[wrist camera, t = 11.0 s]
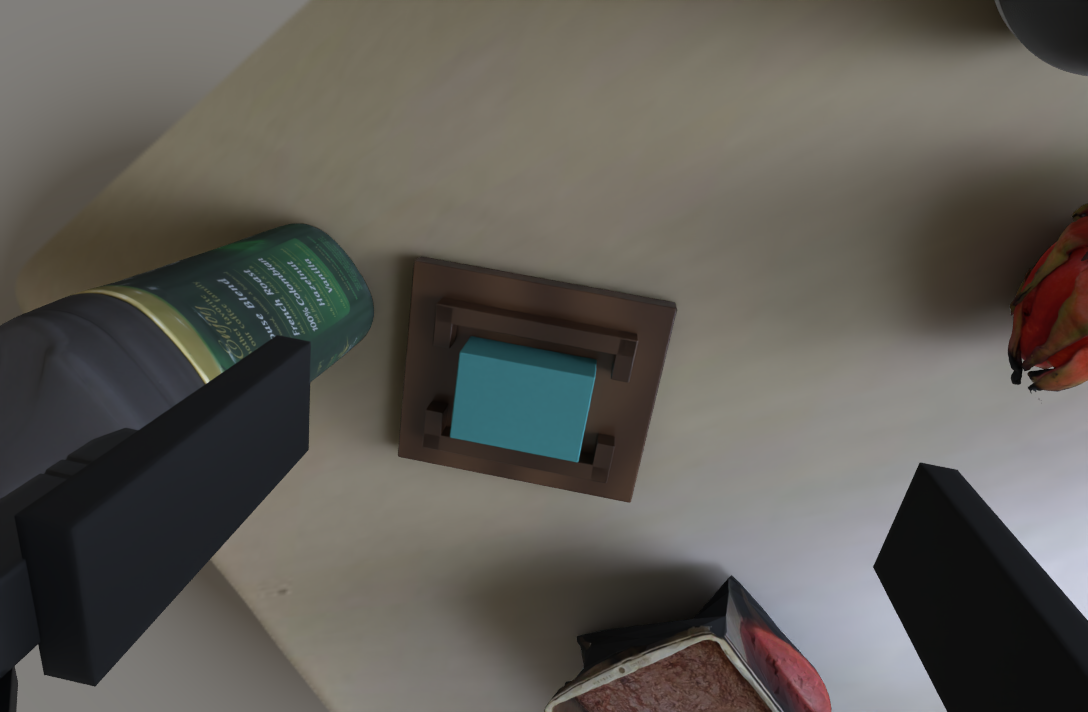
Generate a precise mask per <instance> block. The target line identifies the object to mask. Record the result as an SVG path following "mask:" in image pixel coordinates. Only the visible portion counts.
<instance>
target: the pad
mask: <svg viewBox="0 0 1088 712" xmlns="http://www.w3.org/2000/svg"><path fill="white" fill-rule="evenodd" d="M596 366H597V360H596V359H590V358H585V357H580V356H574V355H569V354H564V353H558V352H553V351H548V350H543V349H537V348H532V347H527V346H521V345H516V344H511V343H505V342H500V341H495V340H489V339H484V338H479V337H473V336H470V338H469V339H468V341H467V342H466V344H465V345H464V347H463V348H462V350H461V351H460V353H459V360H458V369H457V377H456V386H455V395H454V403H453V412H452V421H451V429H450V437H451V438H455V439H460V440H465V441H471V442H476V443H481V444H486V445H491V446H496V447H501V448H506V449H511V450H516V451H521V452H526V453H532V454H537V455H542V456H547V457H552V458H557V459H562V460H567V461H572V462H578V461H579V456H580V451H581V446H582V441H583V436H584V431H585V426H586V421H587V416H588V411H589V406H590V401H591V396H592V392H593V387H594V382H595V375H596Z"/></svg>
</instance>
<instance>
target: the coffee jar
mask: <svg viewBox="0 0 1088 712" xmlns="http://www.w3.org/2000/svg"><path fill="white" fill-rule="evenodd" d="M373 317H374V305H373V300H372V296H371V293H370V291H369V289H368V287H367V285H366V283H365V281H364V279H363V277H362V275H361V274H360V273H359V271H358V270H357V268H356V266H355V265H354V263H353V262H352V260H351V259H350V258H349V257H348V255H347V254H346V253H345V251H344V250H343V249H342V248H341V247H340V246H339V245H338V244H337V243H336V242H335V241H334V240H333V239H332V238H331V237H330V236H329V235H327V234H326V233H324V232H323V231H322V230H320V229H318V228H315V227H313V226H310V225H307V224H288V225H284V226H280V227H277V228H274V229H271V230H268V231H265V232H262V233H259V234H256V235H254V236H251V237H248V238H245V239H242V240H240V241H237V242H234V243H231V244H228V245H225V246H222V247H220V248H217V249H214V250H211V251H208V252H205V253H202V254H199V255H195V256H192V257H189V258H186V259H183V260H180V261H178V262H175V263H172V264H168V265H166V266H163V267H160V268H157V269H154V270H151V271H148V272H145V273H142V274H138V275H135V276H133V277H130V278H127V279H124V280H121V281H118V282H115V283H111V284H108V285H104V286H100V287H96V288H92V289H88V290H85V291H81V292H77V293H74V294H72V295H70V296H68V297H65V298H62V299H60V300H57V301H55V302H52V303H50V304H47V305H45V306H42V307H40V308H37V309H34V310H32V311H30V312H28V313H24V314H22V315H20V316H18V317H16V318H13V319H12V320H10V321H8V322H6V323H4V324H2V325H1V326H0V499H1V498H3V497H4V496H6V495H7V494H9V493H10V492H12V491H13V490H15V489H17V488H18V487H20V486H21V485H23V484H24V483H26V482H27V481H29V480H31V479H32V478H34V477H35V476H37V475H38V474H40V473H41V474H44V473H45V471H46V469H48V468H49V467H51V466H52V465H54V464H55V463H57V462H58V461H60V460H62V459H63V460H66V458H67V456H68V455H69V454H71V453H72V452H74V451H76V450H77V449H79V448H80V447H82V446H83V445H85V444H86V443H88V442H89V441H91V440H93V439H95V438H98V437H101V436H104V435H106V434H109V433H112V432H115V431H118V430H120V429H123V428H130V429H135V430H139V429H141V428H142V427H144V426H145V425H147V424H148V423H150V422H151V421H153V420H154V419H155V418H157V417H158V416H160V415H161V414H163V413H164V412H166V411H167V410H169V409H170V408H172V407H173V406H174V405H176V404H177V403H179V402H180V401H182V400H183V399H185V398H186V397H188V396H189V395H190V394H192V393H193V392H195V391H196V390H198V389H199V388H201V387H202V386H204V385H205V384H207V383H208V382H209V381H211V380H212V379H214V378H215V377H217V376H218V375H220V374H221V373H223V372H224V371H225V370H227V369H228V368H230V367H231V366H233V365H234V364H236V363H237V362H239V361H240V360H241V359H243V358H244V357H246V356H247V355H249V354H250V353H252V352H253V351H255V350H256V349H258V348H259V347H260V346H262V345H263V344H265V343H266V342H268V341H269V340H271V339H272V338H274V337H275V336H276V335H280V336H285V337H290V338H295V339H300V340H305V341H310V342H311V360H310V382H311V381H313V380H314V379H315V378H316V377H318V376H319V375H320V374H321V373H323V372H324V371H325V370H327V369H328V368H329V367H330V366H331V365H333V364H334V363H335V362H336V361H338V360H339V359H340V358H341V357H342V356H343V355H345V354H346V353H347V352H348V351H349V350H351V349H352V348H353V347H354V346H355V345H356V344H357V343H359V342H360V341H361V340H362V339H363V338H364V337H365V336H366V334H367V333H368V331H369V329H370V327H371V324H372V322H373Z"/></svg>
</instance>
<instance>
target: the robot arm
mask: <svg viewBox="0 0 1088 712" xmlns="http://www.w3.org/2000/svg"><path fill="white" fill-rule="evenodd" d="M310 360H311V342H310V341H305V340H300V339H295V338H290V337H285V336H280V335H276V336H275V337H274V338H272V339H271V340H269V341H268V342H266V343H265V344H263V345H262V346H260V347H259V348H258V349H256V350H255V351H253V352H252V353H250V354H249V355H247V356H246V357H244V358H243V359H241V360H240V361H239V362H237V363H236V364H234V365H233V366H231V367H230V368H228V369H227V370H225V371H224V372H223V373H221V374H220V375H218V376H217V377H215V378H214V379H212V380H211V381H209V382H208V383H207V384H205V385H204V386H202V387H201V388H199V389H198V390H196V391H195V392H193V393H192V394H190V395H189V396H188V397H186V398H185V399H183V400H182V401H180V402H179V403H177V404H176V405H174V406H173V407H172V408H170V409H169V410H167V411H166V412H164V413H163V414H161V415H160V416H158V417H157V418H155V419H154V420H153V421H151V422H150V423H148V424H147V425H145V426H144V427H142V428H141V429H139V430H135V429H130V428H123V429H120V430H118V431H115V432H112V433H109V434H106V435H104V436H101V437H98V438H95V439H93V440H91V441H89V442H88V443H86V444H85V445H83V446H82V447H80V448H79V449H77V450H76V451H74V452H72V453H71V454H69V455H68V456H67V458H66V460H63V459H62V460H60V461H58V462H57V463H55V464H54V465H52V466H51V467H49V468H48V469H46V471H45V473H44V474H41V473H40V474H38V475H37V476H35V477H34V478H32V479H31V480H29V481H27V482H26V483H24V484H23V485H21V486H20V487H18V488H17V489H15V490H13V491H12V492H10V493H9V494H7V495H6V496H4V497H3V498H1V499H0V712H16V706H17V691H18V680H17V676H16V671H15V665H16V664H17V663H18V662H19V661H20V660H21V659H23V658H24V657H25V656H26V655H27V654H28V653H29V652H30V651H31V650H32V649H33V648H34V647H35V646H36V645H39V650H40V656H41V661H42V666H43V671H44V675H48V676H52V677H57V678H61V679H66V680H70V681H74V682H78V683H83V684H87V685H91V686H96V685H97V684H98V683H99V682H100V680H102V678H103V677H104V676H105V675H106V674H107V673H108V672H109V671H110V670H111V668H112V667H113V666H114V665H115V664H116V663H117V662H118V661H119V659H120V658H121V657H122V656H123V655H124V654H125V653H126V652H127V651H128V649H129V648H130V647H131V646H132V645H133V644H134V643H135V642H136V641H137V640H138V638H139V637H140V636H141V635H142V634H143V633H144V632H145V630H147V629H148V627H149V626H150V625H151V624H152V623H153V622H154V621H155V619H157V617H158V616H159V615H160V614H161V613H162V612H163V611H164V610H165V609H166V607H167V606H168V605H169V604H170V603H171V602H172V601H173V599H175V597H176V596H177V595H178V594H179V593H180V592H181V591H182V590H183V588H184V587H185V586H186V585H187V584H188V583H189V582H190V581H191V579H193V577H194V576H195V575H196V574H197V573H198V572H199V571H200V570H201V568H202V567H203V566H204V565H205V564H206V563H207V562H208V561H209V560H210V559H211V557H212V556H213V555H214V554H215V553H216V552H217V551H218V550H219V549H220V548H221V546H222V545H223V544H224V543H225V542H226V541H227V540H228V539H229V538H230V536H231V535H232V534H233V533H234V532H235V531H236V530H237V529H238V528H239V526H240V525H241V524H242V523H243V522H244V521H245V520H246V519H247V518H248V516H249V515H250V514H251V513H252V512H253V511H254V510H255V509H256V508H257V506H258V505H259V504H260V503H261V502H262V501H263V500H264V499H265V498H266V496H267V495H268V494H269V493H270V492H271V491H272V490H273V489H274V488H275V486H276V485H277V484H278V483H279V482H280V481H281V480H282V479H283V478H284V476H285V475H286V474H287V473H288V472H289V471H290V470H291V469H292V468H293V467H294V465H295V464H296V463H297V462H298V461H299V460H300V459H301V458H302V457H303V455H304V454H305V453H306V452H307V451H308V450H309V405H310ZM873 568H874V570H875V572H876V573H877V575H878V577H879V579H880V581H881V583H882V585H883V587H884V589H885V591H886V593H887V595H888V597H889V599H890V601H891V603H892V605H893V607H894V609H895V611H896V613H897V615H898V616H899V618H900V620H901V622H902V624H903V626H904V628H905V630H906V632H907V634H908V636H909V638H910V640H911V642H912V644H913V646H914V648H915V650H916V652H917V654H918V656H919V658H920V659H921V661H922V663H923V665H924V667H925V669H926V671H927V673H928V675H929V677H930V679H931V681H932V683H933V685H934V687H935V689H936V691H937V693H938V695H939V697H940V699H941V701H942V702H943V704H944V706H945V708H946V710H947V712H1088V620H1087V619H1086V618H1085V617H1084V616H1083V615H1082V613H1081V612H1080V611H1079V610H1078V609H1077V608H1076V606H1075V605H1074V604H1073V603H1072V602H1071V601H1070V600H1069V598H1068V597H1067V596H1066V595H1065V594H1064V593H1063V591H1062V590H1061V589H1060V588H1059V587H1058V586H1057V584H1056V583H1055V582H1054V581H1053V580H1052V579H1051V578H1050V576H1049V575H1048V574H1047V573H1046V572H1045V571H1044V569H1043V568H1042V567H1041V566H1040V565H1039V564H1038V563H1037V561H1036V560H1035V559H1034V558H1033V557H1032V556H1031V554H1030V553H1029V552H1028V551H1027V550H1026V549H1025V548H1024V546H1023V545H1022V544H1021V543H1020V542H1019V541H1018V539H1017V538H1016V537H1015V536H1014V535H1013V534H1012V533H1011V531H1010V530H1009V529H1008V528H1007V527H1006V526H1005V524H1004V523H1003V522H1002V521H1001V520H1000V519H999V518H998V516H997V515H996V514H995V513H994V512H993V511H992V509H991V508H990V507H989V506H988V505H987V504H986V503H985V501H984V500H983V499H982V498H981V497H980V496H979V494H978V493H977V492H976V491H975V490H974V489H973V488H972V486H971V485H970V484H969V483H968V482H967V481H966V479H965V478H964V477H963V476H962V475H961V474H960V472H959V471H958V470H955V469H950V468H945V467H940V466H935V465H930V464H925V463H919V466H918V468H917V470H916V472H915V475H914V477H913V479H912V481H911V484H910V486H909V488H908V490H907V492H906V495H905V497H904V499H903V501H902V504H901V506H900V508H899V510H898V513H897V515H896V517H895V519H894V522H893V524H892V526H891V528H890V530H889V533H888V535H887V537H886V539H885V542H884V544H883V546H882V548H881V551H880V553H879V555H878V557H877V560H876V562H875V564H874V566H873Z"/></svg>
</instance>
